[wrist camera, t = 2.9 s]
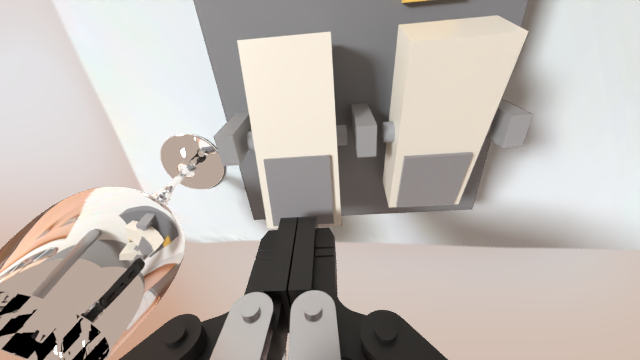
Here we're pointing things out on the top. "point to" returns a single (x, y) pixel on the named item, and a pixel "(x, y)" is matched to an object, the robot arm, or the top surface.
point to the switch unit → (344, 83)
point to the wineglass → (97, 262)
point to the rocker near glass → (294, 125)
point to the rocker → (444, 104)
